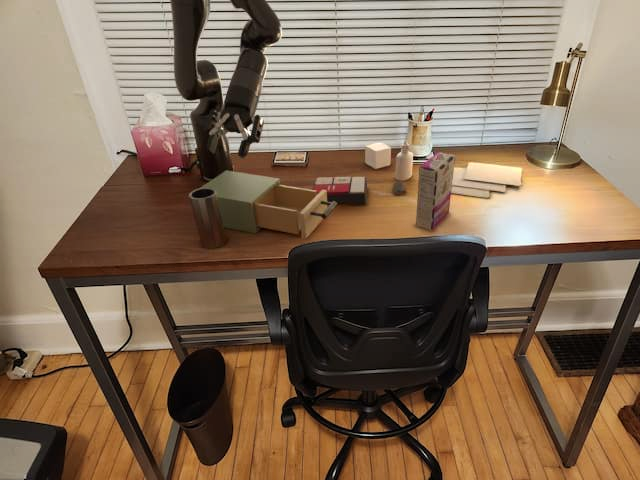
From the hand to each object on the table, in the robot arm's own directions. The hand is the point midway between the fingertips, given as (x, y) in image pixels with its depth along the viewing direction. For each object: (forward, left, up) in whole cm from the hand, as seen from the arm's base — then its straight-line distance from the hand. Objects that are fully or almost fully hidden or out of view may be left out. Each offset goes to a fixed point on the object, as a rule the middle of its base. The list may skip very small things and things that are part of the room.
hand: (225, 154), depth 105 cm
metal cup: (0, -11, -18) cm, 21 cm away
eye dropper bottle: (+34, +40, -18) cm, 56 cm away
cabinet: (0, +3, -18) cm, 18 cm away
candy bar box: (+48, +17, -18) cm, 54 cm away
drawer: (+16, +3, -17) cm, 24 cm away
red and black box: (+20, +22, -18) cm, 35 cm away
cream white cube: (+23, +48, -18) cm, 56 cm away
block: (+35, +31, -18) cm, 50 cm away
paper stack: (+56, +46, -18) cm, 75 cm away
